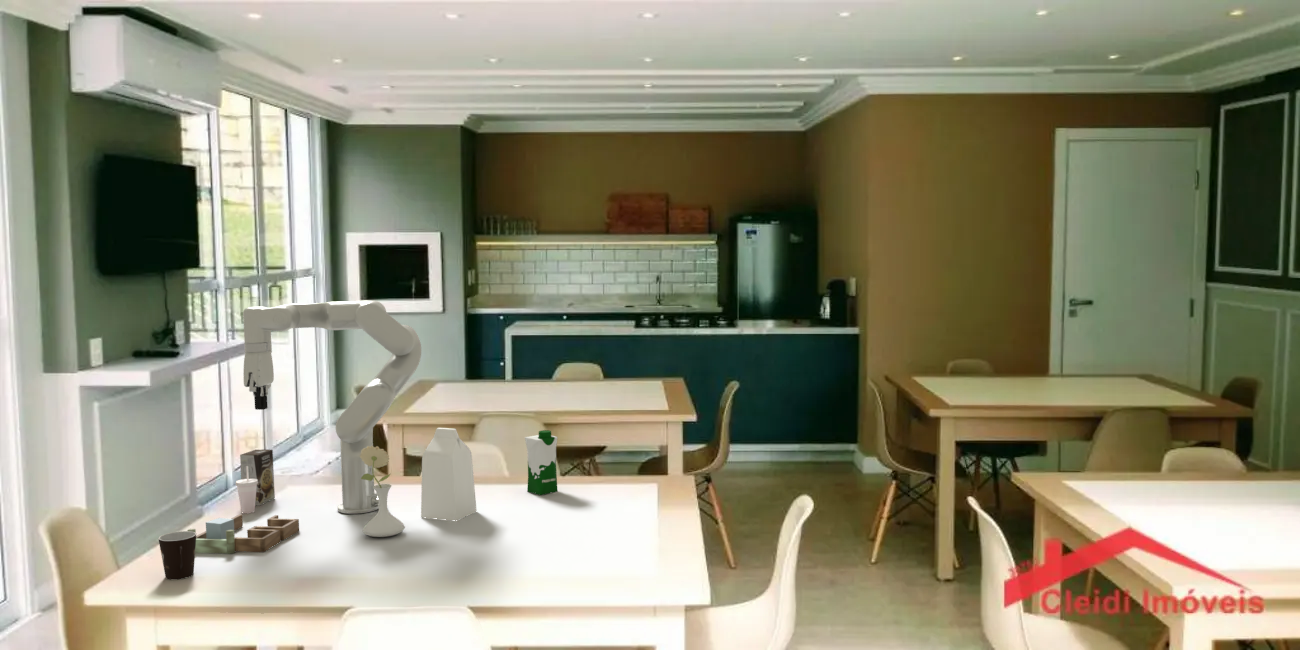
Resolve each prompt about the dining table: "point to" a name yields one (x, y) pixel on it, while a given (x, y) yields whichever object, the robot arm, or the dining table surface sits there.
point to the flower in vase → (380, 496)
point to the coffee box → (259, 473)
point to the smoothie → (247, 493)
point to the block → (219, 528)
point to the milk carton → (542, 463)
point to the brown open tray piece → (256, 541)
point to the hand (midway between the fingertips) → (261, 408)
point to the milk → (447, 477)
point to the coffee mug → (178, 553)
